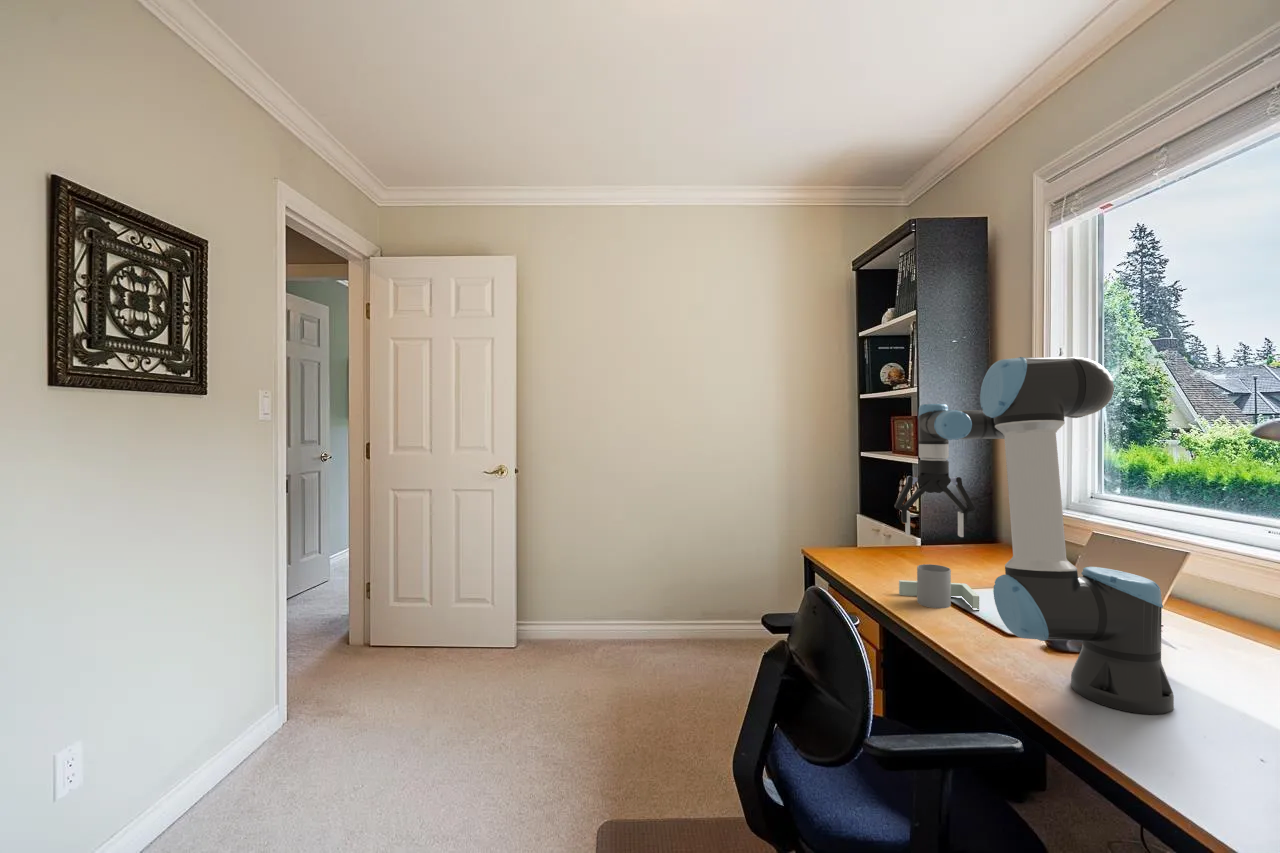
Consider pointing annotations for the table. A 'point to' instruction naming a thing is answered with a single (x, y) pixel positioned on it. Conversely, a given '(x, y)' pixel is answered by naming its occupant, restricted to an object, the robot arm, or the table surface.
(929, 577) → the cup
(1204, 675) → the table surface
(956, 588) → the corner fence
